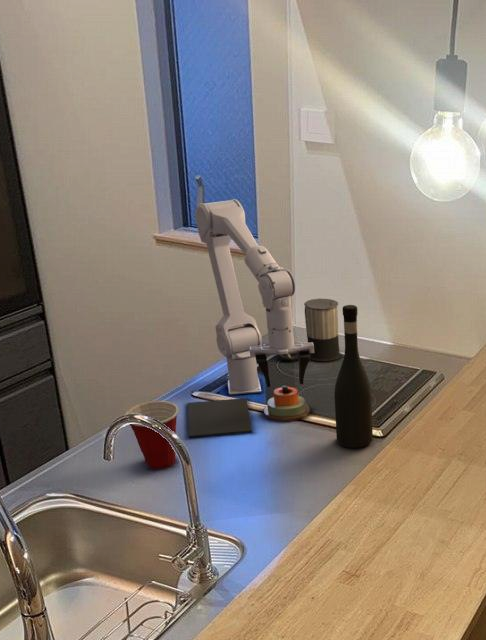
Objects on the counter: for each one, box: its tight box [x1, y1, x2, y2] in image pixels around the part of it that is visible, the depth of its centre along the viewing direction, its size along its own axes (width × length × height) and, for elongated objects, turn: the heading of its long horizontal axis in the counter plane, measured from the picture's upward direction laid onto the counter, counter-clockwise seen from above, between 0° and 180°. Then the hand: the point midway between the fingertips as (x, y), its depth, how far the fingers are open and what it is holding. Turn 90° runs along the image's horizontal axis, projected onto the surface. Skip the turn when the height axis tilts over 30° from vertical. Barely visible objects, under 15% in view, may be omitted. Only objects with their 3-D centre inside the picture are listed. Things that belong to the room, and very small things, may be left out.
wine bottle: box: [333, 304, 374, 449], centre depth 182 cm, size 8×8×30 cm
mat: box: [187, 397, 253, 439], centre depth 201 cm, size 20×14×1 cm
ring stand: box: [263, 384, 311, 423], centre depth 202 cm, size 11×11×7 cm
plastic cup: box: [124, 400, 179, 470], centre depth 177 cm, size 11×11×12 cm
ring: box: [273, 386, 299, 406], centre depth 202 cm, size 6×6×3 cm
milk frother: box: [277, 298, 341, 362], centre depth 233 cm, size 14×16×15 cm
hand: (284, 384), depth 200 cm, fingers open, 7 cm apart
